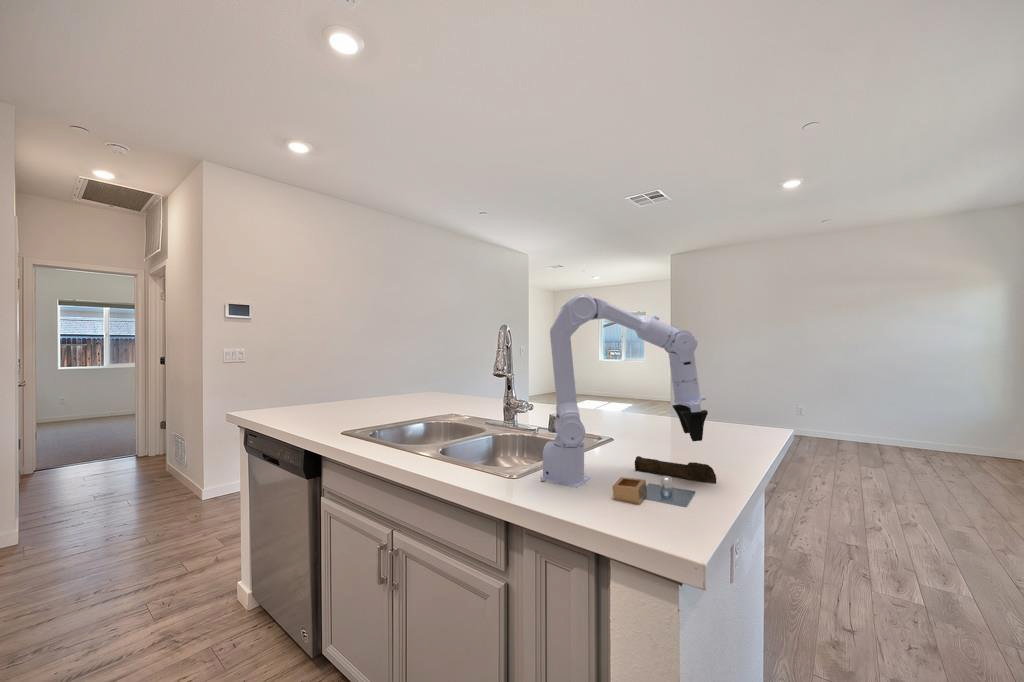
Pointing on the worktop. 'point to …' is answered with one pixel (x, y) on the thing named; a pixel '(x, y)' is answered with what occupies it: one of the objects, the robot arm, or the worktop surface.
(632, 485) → the square wooden frame
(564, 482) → the robot arm
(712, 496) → the worktop surface
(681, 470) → the dark brown long piece
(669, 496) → the piston plate
